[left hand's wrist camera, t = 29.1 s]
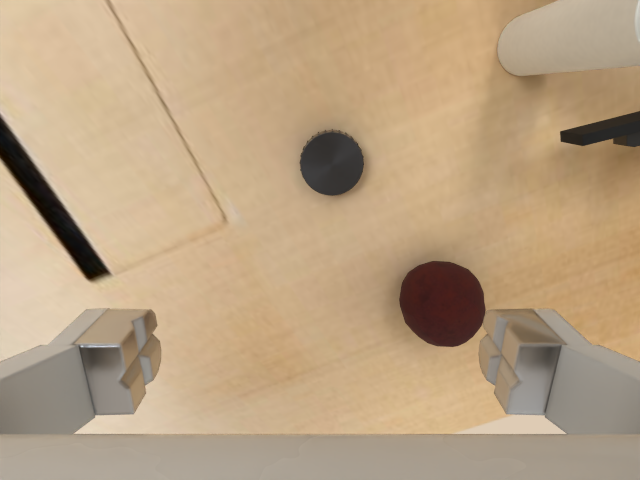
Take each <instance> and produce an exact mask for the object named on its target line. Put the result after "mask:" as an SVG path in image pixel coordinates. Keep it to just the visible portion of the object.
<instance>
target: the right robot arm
mask: <svg viewBox="0 0 640 480" xmlns="http://www.w3.org/2000/svg"><path fill="white" fill-rule="evenodd" d="M560 135H561V142H566V143H571V144H576V145H581V146H585V145H589V144H593V143H597V142H601V141H605V140H609V139H613V144H619V145H624V146H631V147H636V146H640V111H639V112H635V113H631V114H627V115H623V116H619V117H615V118H611V119H607V120H604V121H600V122H596V123H592V124H588V125H584V126H580V127H576V128H572V129H568V130H564V131H560Z"/></svg>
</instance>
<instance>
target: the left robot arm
mask: <svg viewBox="0 0 640 480" xmlns="http://www.w3.org/2000/svg"><path fill="white" fill-rule="evenodd" d="M156 327H157V321H156V316H155V313H154V312H153V311H152V310H151V309H109V308H102V309H86V310H85V311H84V312H83V313H82V314H81V315H80V316H79V317H78V318H76V319H75V320H74V321H73V322H72V323H71V324H70V325H69V326H68V327H67V328H66V329H64V330H63V331H62V332H61V333H60V334H59V335H58V336H57V337H56V338H55V339H54V340H52V341H51V342H50V343H49V344H48V345H40V346H37V347H35V348H32V349H30V350H27V351H25V352H23V353H20V354H18V355H15V356H13V357H10V358H8V359H6V360H3V361H1V362H0V480H640V362H639V361H637V360H634V359H632V358H629V357H627V356H625V355H622V354H620V353H617V352H615V351H613V350H610V349H608V348H605V347H603V346H600V345H592V344H591V343H590V342H589V341H588V340H586V339H585V338H584V337H583V336H582V335H581V334H580V333H579V332H578V331H577V330H576V329H575V328H573V327H572V326H571V325H570V324H569V323H568V322H567V321H566V320H565V319H564V318H563V317H562V316H560V315H559V314H558V313H557V312H556V311H555V310H553V309H550V308H543V309H501V310H487V311H486V314H485V316H484V320H483V327H484V329H485V330H486V332H487V333H488V334H487V335H486V336H485V337H484V338H483V339H482V340H481V341H480V346H479V362H480V367H481V370H482V373H483V375H484V377H485V378H486V380H487V381H489V382H490V383H492V384H493V385H495V390H494V394H495V396H496V397H497V399H498V401H499V403H500V404H501V406H502V408H503V409H504V411H505V413H506V414H518V415H545V418H547V419H548V420H549V421H551V422H552V423H553V424H555V425H556V426H558V427H559V428H560V429H561V430H563V431H564V432H565V433H567V434H73V433H75V432H76V431H77V430H79V429H80V428H81V427H83V426H84V425H85V424H87V423H88V422H89V421H91V420H92V419H93V418H95V415H121V414H134V413H135V411H136V409H137V408H138V406H139V404H140V403H141V401H142V399H143V397H144V396H145V394H146V390H145V385H147V384H148V383H150V382H151V381H153V380H154V378H155V376H156V375H157V373H158V370H159V366H160V362H161V346H160V341H159V340H158V339H157V338H156V337H155V336H154V335H153V334H152V333H153V332H154V330H155V329H156Z"/></svg>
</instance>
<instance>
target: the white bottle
mask: <svg viewBox="0 0 640 480" xmlns="http://www.w3.org/2000/svg"><path fill="white" fill-rule="evenodd" d="M497 53H498V58H499V61H500V63H501V65H502V67H503V68H504V69H505V70H506V71H507V72H509V73H511V74H513V75H517V76H528V75H540V74H551V73H563V72H574V71H586V70H598V69H609V68H621V67H632V66H640V0H558V1H556V2H553V3H551V4H548V5H546V6H543V7H540V8H538V9H535V10H533V11H530V12H528V13H525V14H522V15H520V16H518V17H516V18H514V19H513V20H512V21H511V22H509V23H508V24H507V26H506V27H505V28H504V30H503V31H502V33H501V35H500V38H499V41H498V47H497Z"/></svg>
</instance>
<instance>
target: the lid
mask: <svg viewBox="0 0 640 480" xmlns="http://www.w3.org/2000/svg"><path fill="white" fill-rule="evenodd" d="M300 164H301V172H302V175H303V178H304V179H305V181H306V183H307V184H308V185H309V186H310V187H311V188H312V189H313V190H315V191H317V192H319V193H321V194H324V195H339V194H342V193H345V192H347V191H348V190H350V189H351V188H352V187H354V186H355V184H356V183H357V182H358V180H359V179H360V177H361V174H362V172H363V165H364V163H363V156H362V153H361V149H360V147H358V143H357V142H355V141H354V140H353V138H352V137H350V136H349V135H347V133H343V132H340V130H339V131H336V130H333V129H332V130H327V131H326V130H325V131H323V132H320V133H319V132H318V134H316V135H315V136H312V138H311V139H310V140H309V141H307V144H306V145H305V147H303V153H301V160H300Z"/></svg>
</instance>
